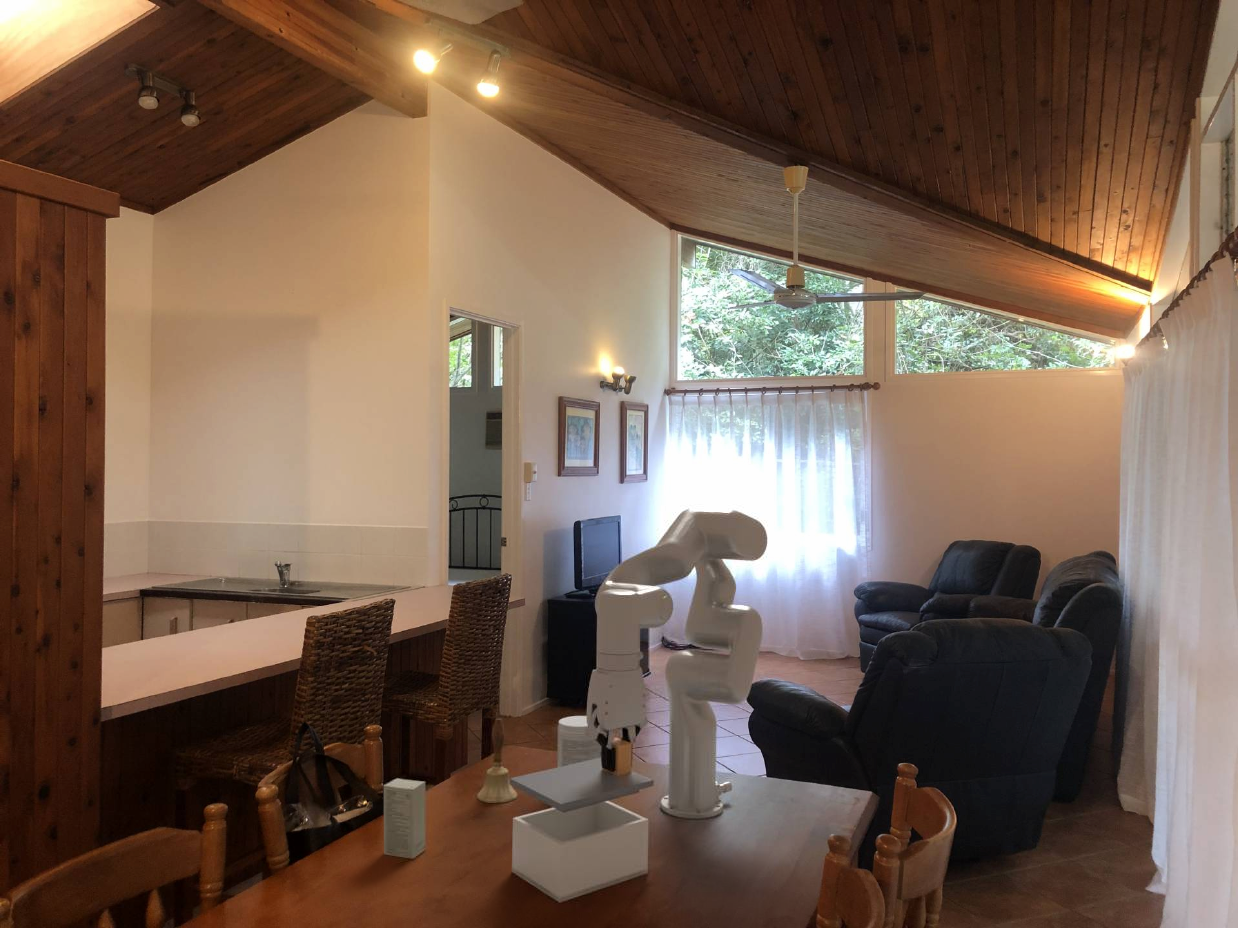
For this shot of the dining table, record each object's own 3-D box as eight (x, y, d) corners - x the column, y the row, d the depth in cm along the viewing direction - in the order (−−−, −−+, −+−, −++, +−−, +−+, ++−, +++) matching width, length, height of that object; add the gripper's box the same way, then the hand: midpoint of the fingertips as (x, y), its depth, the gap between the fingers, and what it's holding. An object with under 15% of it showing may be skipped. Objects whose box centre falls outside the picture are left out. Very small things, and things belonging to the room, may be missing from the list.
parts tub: (597, 846, 165) (598, 795, 166) (647, 873, 154) (648, 819, 155) (511, 871, 154) (512, 817, 154) (559, 902, 143) (560, 844, 143)
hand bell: (470, 794, 191) (471, 717, 192) (504, 787, 196) (506, 712, 197) (489, 806, 185) (490, 726, 185) (524, 798, 190) (526, 720, 190)
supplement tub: (610, 792, 194) (611, 722, 194) (571, 801, 188) (572, 729, 189) (586, 779, 202) (587, 712, 202) (548, 787, 197) (549, 718, 197)
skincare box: (426, 850, 162) (427, 781, 163) (412, 860, 158) (414, 789, 158) (395, 845, 165) (397, 776, 165) (381, 854, 160) (382, 784, 161)
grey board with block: (599, 769, 166) (600, 729, 167) (653, 792, 155) (653, 750, 155) (509, 791, 155) (510, 748, 155) (560, 818, 143) (561, 771, 143)
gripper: (640, 652, 168) (639, 753, 167) (567, 663, 157) (565, 770, 157) (667, 659, 162) (666, 764, 162) (593, 670, 152) (592, 782, 151)
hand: (616, 766), depth 159 cm, fingers closed on grey board with block, 3 cm apart
